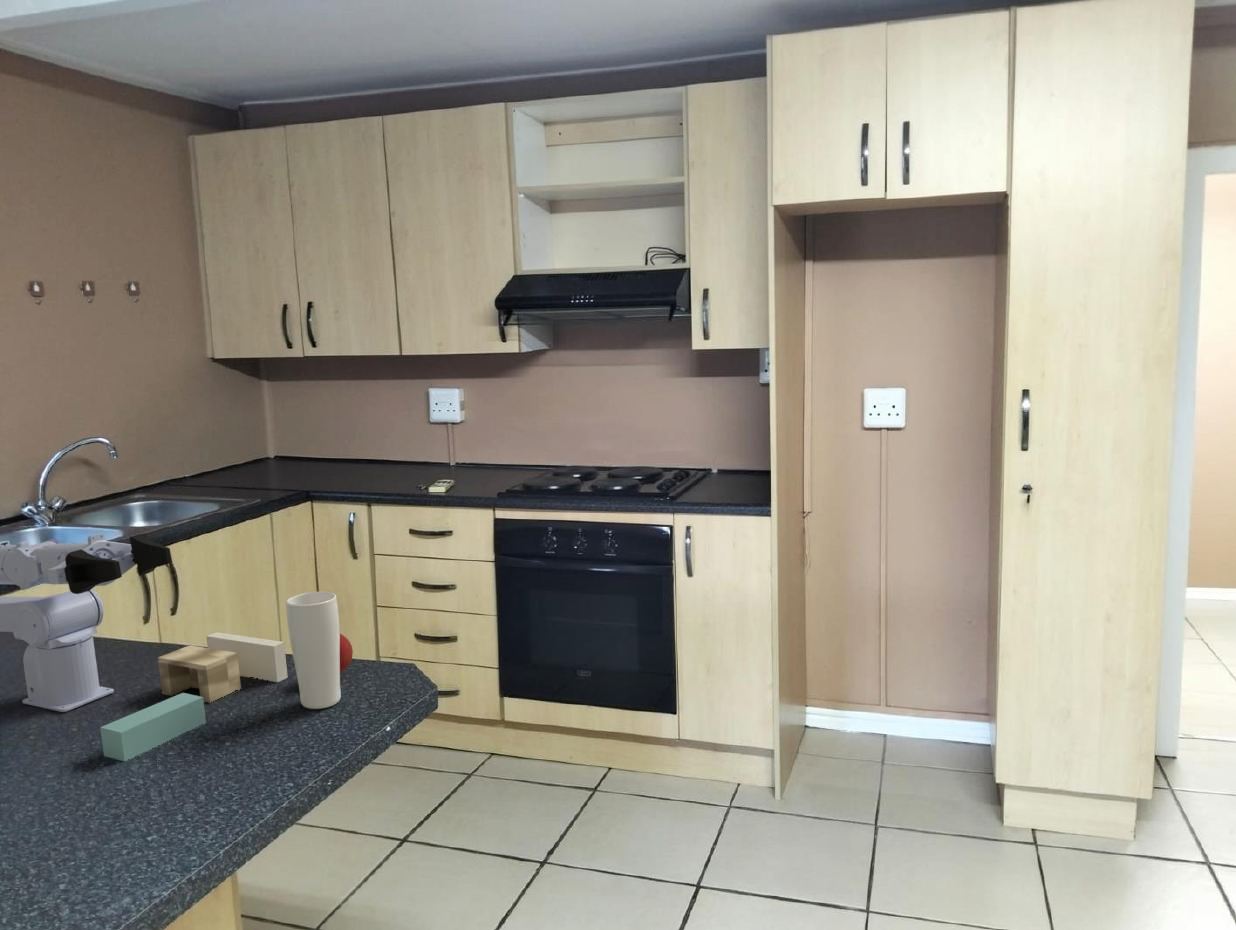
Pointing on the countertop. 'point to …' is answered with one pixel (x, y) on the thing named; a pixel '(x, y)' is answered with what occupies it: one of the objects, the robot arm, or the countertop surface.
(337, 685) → the drinking glass
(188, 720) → the mint green rectangular prism
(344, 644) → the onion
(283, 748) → the countertop surface
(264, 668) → the wall
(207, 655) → the block
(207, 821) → the countertop surface
